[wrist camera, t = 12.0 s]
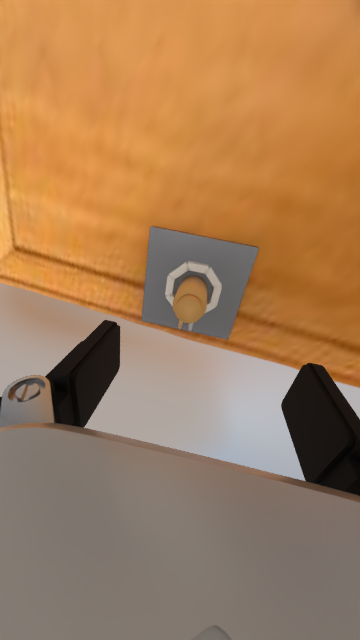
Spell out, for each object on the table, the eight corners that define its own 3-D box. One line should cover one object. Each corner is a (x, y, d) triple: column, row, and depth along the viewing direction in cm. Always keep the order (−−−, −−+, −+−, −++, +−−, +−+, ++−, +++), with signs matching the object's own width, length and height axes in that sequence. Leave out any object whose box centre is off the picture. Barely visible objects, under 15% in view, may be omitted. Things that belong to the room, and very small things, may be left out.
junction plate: (257, 246, 27) (260, 249, 25) (227, 335, 34) (228, 343, 32) (152, 225, 28) (148, 227, 26) (143, 317, 34) (139, 323, 32)
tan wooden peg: (210, 278, 29) (210, 298, 22) (203, 304, 31) (202, 330, 24) (181, 272, 29) (173, 290, 22) (177, 298, 31) (168, 323, 24)
